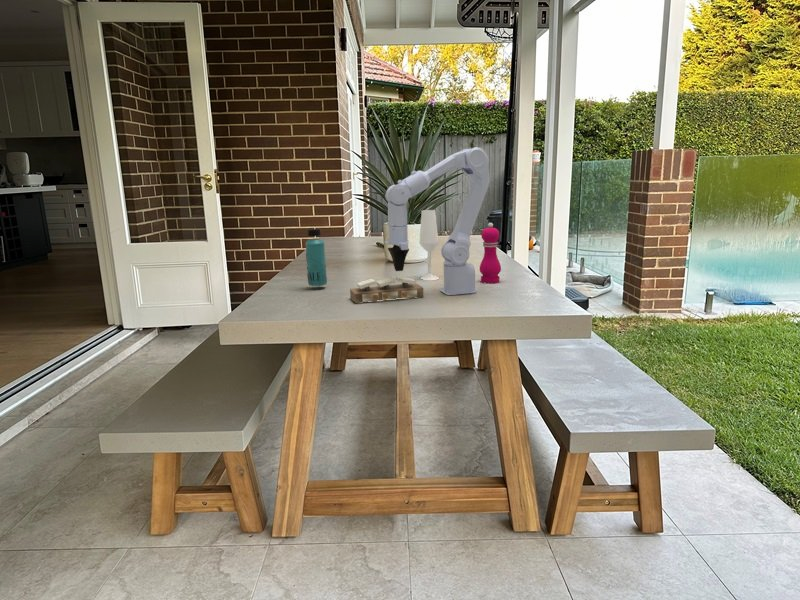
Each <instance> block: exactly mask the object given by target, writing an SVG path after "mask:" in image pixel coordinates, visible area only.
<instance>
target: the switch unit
mask: <svg viewBox="0 0 800 600" xmlns="http://www.w3.org/2000/svg"><path fill="white" fill-rule="evenodd" d="M349 294H350V296H349V297H351V298H350V299H351V300H352V302H353V301H354V302H355V303H360V302H368V301H377V300H386V299H396V298H413V299H416V298H415V297H424V287H423V286H421V285H419V284H418V283H416V282H415V284H410V283H402V282H401V283H400V284H399V283H398V284H389V285H386V286H382V287H379V286H378V285H376V286H368V287H365V288H362V289H360V288H359V287H354V288H353V287H352V288H349ZM354 302H353V303H354ZM355 303H354V304H355ZM360 304H361V303H360Z"/></svg>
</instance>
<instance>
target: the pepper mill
mask: <svg viewBox="0 0 800 600" xmlns="http://www.w3.org/2000/svg"><path fill="white" fill-rule="evenodd" d="M493 226H494V224H493V223H492V222H489V223H487V227H486V228H484V229H483V230H482V232H481V239H482V240H483V242H482V246H483V249H484V251H483V252H484V254H483V258H482V260H481V262H480V264H479V272H480V274H481V276H480V282H481V283H483V284H498V283H500V276H499V274H500V273H501V272H502V266H501V263H500V260H499V259H498V255H497V247H499V244H498V243H499V239H500V231H499V229H497V228H496V227H493Z"/></svg>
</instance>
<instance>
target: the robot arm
mask: <svg viewBox="0 0 800 600" xmlns="http://www.w3.org/2000/svg"><path fill="white" fill-rule="evenodd" d="M489 164H490V158H489V157H488V155H487V153H486V151H485V149H483V148H481V147H478V146H477V147H472V148H463V149H462V150H460V151H458V152H454V153H453V154H451V155H449V156H447V157H445V159H443V160H441V161H439V162H438V163H436V164H435V165H434V166H432V167H430V168H429V169H427V170H426V171H423V170H417V171H416V170H413V171H411V173H410V175H409V176H407V177H405V178H404V179H398V181H397V184H393V185H390V186H389V187H388V188H387V190H386V193H385V194H384V197H385V200H386V201H387V225H388V226H387V229H388V231H387V232H388V240H385V241H384V244H387V245H389V246H390V245H391V246H392V247H388V248H387V250H388V251H389V253H390V256H391V259H392V263H393V268H394V270H395V272H403V271H404V267H405V262H406V258H407V255H408V253H409V251H410V248H409V240H408V239H409V238H408V236H409V235H408V210H407V209H408V208H407V202H408V201H409V199H411V198H414V197H415V196H416V195H418V194H421V192H423V191H425V190H427V189H428V188H430V184H431V181H433V180H435V179H436V178H438V177H441V176H442V175H444V174H446V173H448V172H449V171H451V170H453V169H454V170H455V169H461V170H462V171H463V172H464V173H466V175H467V177H468V179H469V181H470V185H469V189H468V191H467V194H466V195H465V199H464V201H463V205H462V206H461V207H462V208H461V210H460V213H459V216H458V219H457V220H456V224H455V227H454V229H453V231H452V232H451V234H450V235H449V236H448V237H447V238H448V239H447V241H446V242H445V243H443V245H442V246H441V249H440V252H441V256H442V257H443V259H444V261H443V288H439V292H441V293H443V294H445V295H446V296H454V295H465V294H474V293H477V291H476V269H475V266H474V264H473V263H470V262H469V263H468V260H469V258H470V246H471V245H472V244H471V234H472V231H473V229H474V226H475V223H476V221H477V217H478V215H479V213H480V211H481V207H482V204H483V201H484V199H485V197H486V193H487V191H488V188H489V186H490V183H491V176H490V169H489Z"/></svg>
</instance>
